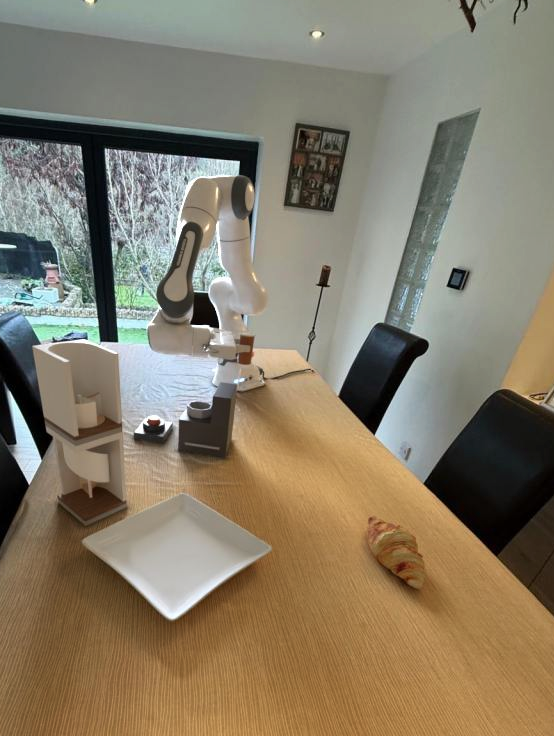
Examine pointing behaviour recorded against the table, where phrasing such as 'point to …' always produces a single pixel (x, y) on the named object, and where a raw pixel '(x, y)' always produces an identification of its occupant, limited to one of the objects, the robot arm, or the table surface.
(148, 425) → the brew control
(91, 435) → the spiral staircase model
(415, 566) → the croissant
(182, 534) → the square plate
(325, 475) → the table surface
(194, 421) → the coffee maker
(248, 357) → the coffee pod
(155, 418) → the brew button
